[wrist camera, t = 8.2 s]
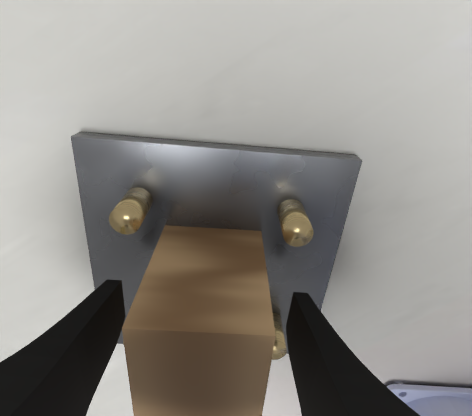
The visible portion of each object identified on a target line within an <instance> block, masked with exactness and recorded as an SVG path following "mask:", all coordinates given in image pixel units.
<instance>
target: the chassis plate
mask: <svg viewBox="0 0 472 416" xmlns="http://www.w3.org/2000/svg"><path fill="white" fill-rule="evenodd" d="M71 141H72V147H73V153H74V160H75V166H76V172H77V179H78V185H79V192H80V198H81V204H82V211H83V217H84V223H85V230H86V236H87V242H88V249H89V255H90V261H91V268H92V274H93V280H94V287H95V290H96V289H97V288H98V287H99V286H100V285H101V284H102V283H103V282H104V281H106V280H107V279H108V280H122V287H123V297H124V306H125V316H126V317H127V315H128V312H129V310H130V308H131V305H132V303H133V300H134V298H135V296H136V293H137V291H138V288H139V286H140V284H141V281H142V279H143V276H144V274H145V272H146V269H147V267H148V265H149V262H150V260H151V257H152V255H153V253H154V250H155V248H156V245H157V243H158V241H159V238H160V236H161V233H162V231H163V229H164V226H165V225H169V226H186V227H203V228H220V229H237V230H254V231H261V232H262V239H263V247H264V254H265V261H266V269H267V276H268V283H269V290H270V298H271V305H272V312H273V320H274V327H275V334H276V337H275V343H274V349H273V354H272V360H275V359H280V358H282V357H283V356H285V354H286V353H287V354H289V352H288V344H287V335H286V323H287V319H288V314H289V309H290V305H291V300H292V296H293V292H304V293H308V294H309V295H310V297H311V298H312V299H313V301H314V302H315V304H316V305H317V307H318V308H319V310H321V307H322V303H323V300H324V296H325V292H326V289H327V285H328V282H329V278H330V274H331V271H332V267H333V264H334V260H335V256H336V253H337V249H338V246H339V242H340V238H341V235H342V231H343V228H344V224H345V220H346V217H347V213H348V210H349V206H350V202H351V199H352V195H353V192H354V188H355V184H356V181H357V177H358V174H359V170H360V166H361V163H362V160H361V159H360V158H359V157H358V156H356V155H352V154H340V153H328V152H316V151H304V150H292V149H279V148H267V147H255V146H243V145H231V144H219V143H207V142H195V141H183V140H171V139H159V138H147V137H135V136H123V135H111V134H99V133H87V132H79V133H77V134H75V135H73V136H71ZM126 317H125V320H126ZM125 320H124V322H125ZM117 343H119V344H124V340H123V333H122V330H121V333H120V336H119V339H118V342H117Z"/></svg>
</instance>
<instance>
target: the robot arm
mask: <svg viewBox="0 0 472 416" xmlns="http://www.w3.org/2000/svg"><path fill="white" fill-rule="evenodd" d="M125 317H126V316H125V306H124V297H123V287H122V280H108V279H107V280H106V281H104V282H103V283H102V284H101V285H100V286H99V287H98V288H97V289H96V290H94V291H93V292H92V293H91V294H90V295H89V296H88V297H87V298H86V299H84V300H83V301H82V302H81V303H80V304H79V305H78V306H76V307H75V308H74V309H73V310H72V311H71V312H70V313H68V314H67V315H66V316H65V317H64V318H62V319H61V320H60V321H59V322H57V323H56V324H55V325H54V326H52V327H51V328H50V329H49V330H47V331H46V332H45V333H43V334H42V335H41V336H39V337H38V338H37V339H35V340H34V341H32V342H31V343H30V344H28V345H27V346H25V347H24V348H22V349H21V350H19V351H18V352H16V353H15V354H13V355H12V356H10V357H8V358H7V359H5V360H3V361H2V362H0V416H86V414H87V411H88V408H89V405H90V403H91V400H92V398H93V395H94V393H95V391H96V389H97V386H98V384H99V382H100V380H101V378H102V375H103V373H104V371H105V369H106V367H107V364H108V362H109V360H110V358H111V355H112V353H113V351H114V349H115V347H116V344H117V342H118V339H119V336H120V333H121V330H122V327H123V324H124V320H125ZM286 335H287V344H288V352H289V357H290V362H291V366H292V371H293V375H294V380H295V384H296V389H297V393H298V398H299V402H300V407H301V413H302V416H472V388H460V387H442V386H424V385H407V384H390V385H388V386H387V387H386V386H385V385H384V384H383V383H382V382H381V381H380V380H378V379H377V378H376V377H375V376H374V375H373V374H372V373H371V372H370V371H369V370H368V369H367V368H366V367H365V365H364V364H363V363H362V362H361V361H360V360H359V359H358V358H357V357H356V356H355V355H354V354H353V352H352V351H351V350H350V349H349V348H348V346H347V345H346V344H345V343H344V342H343V340H342V339H341V338H340V337H339V335H338V334H337V333H336V331H335V330H334V329H333V328H332V326H331V325H330V324H329V322H328V321H327V320H326V318H325V317H324V315H323V314H322V313H321V311H320V310H319V308H318V307H317V305H316V304H315V302H314V301H313V299H312V298H311V297H310V295H309V294H308V293H304V292H293V296H292V300H291V305H290V309H289V314H288V319H287V323H286Z"/></svg>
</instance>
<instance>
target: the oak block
mask: <svg viewBox="0 0 472 416" xmlns="http://www.w3.org/2000/svg"><path fill="white" fill-rule="evenodd" d="M122 333H123V340H124V347H125V354H126V362H127V369H128V376H129V383H130V391H131V398H132V405H133V412H134V416H262V411H263V405H264V400H265V394H266V388H267V383H268V377H269V371H270V366H271V360H272V354H273V349H274V343H275V337H276V334H275V327H274V320H273V312H272V305H271V298H270V290H269V283H268V276H267V269H266V261H265V254H264V247H263V239H262V232H261V231H254V230H237V229H220V228H203V227H186V226H169V225H165V226H164V229H163V231H162V233H161V236H160V238H159V241H158V243H157V245H156V248H155V250H154V253H153V255H152V257H151V260H150V262H149V265H148V267H147V269H146V272H145V274H144V276H143V279H142V281H141V284H140V286H139V288H138V291H137V293H136V296H135V298H134V300H133V303H132V305H131V308H130V310H129V312H128V315H127V317H126V320H125V322H124V324H123V327H122Z"/></svg>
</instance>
